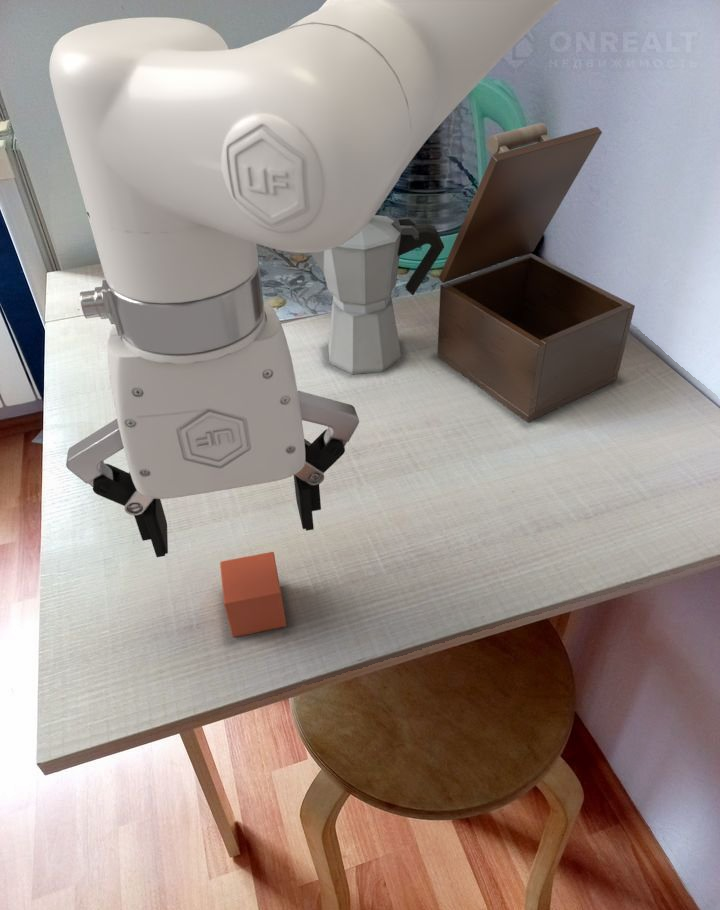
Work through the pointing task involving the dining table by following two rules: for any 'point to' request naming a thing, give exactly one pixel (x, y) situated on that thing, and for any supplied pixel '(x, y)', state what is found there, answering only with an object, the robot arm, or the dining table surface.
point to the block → (252, 594)
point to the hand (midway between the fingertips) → (234, 528)
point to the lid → (517, 196)
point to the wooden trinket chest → (532, 334)
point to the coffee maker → (371, 290)
